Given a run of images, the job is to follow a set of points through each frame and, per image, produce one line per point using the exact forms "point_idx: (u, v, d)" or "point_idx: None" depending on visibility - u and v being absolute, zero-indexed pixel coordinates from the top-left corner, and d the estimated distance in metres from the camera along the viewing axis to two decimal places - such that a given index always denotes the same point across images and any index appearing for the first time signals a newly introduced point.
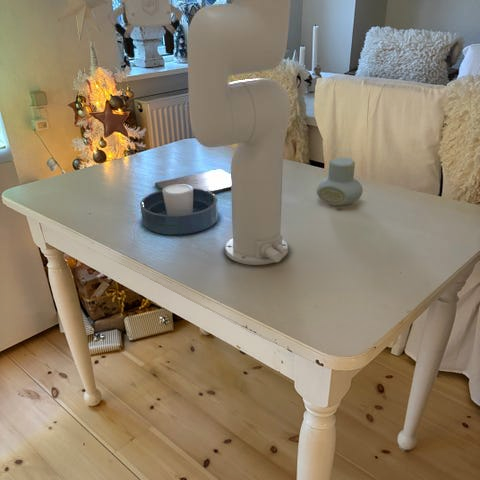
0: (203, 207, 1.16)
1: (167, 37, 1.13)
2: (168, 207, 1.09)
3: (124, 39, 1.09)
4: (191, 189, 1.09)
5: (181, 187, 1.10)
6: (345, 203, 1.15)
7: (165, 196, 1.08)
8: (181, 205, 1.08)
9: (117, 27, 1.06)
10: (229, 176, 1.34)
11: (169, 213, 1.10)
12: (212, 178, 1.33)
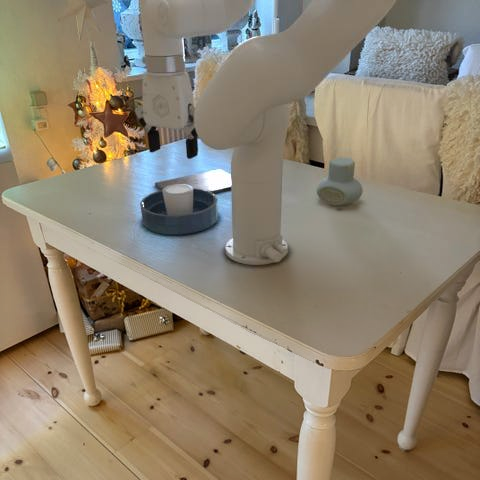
0: (203, 207, 1.16)
1: None
2: (168, 207, 1.09)
3: None
4: (191, 189, 1.09)
5: (181, 187, 1.10)
6: (345, 203, 1.15)
7: (165, 196, 1.08)
8: (181, 205, 1.08)
9: (139, 121, 1.04)
10: (229, 176, 1.34)
11: (169, 213, 1.10)
12: (212, 178, 1.33)
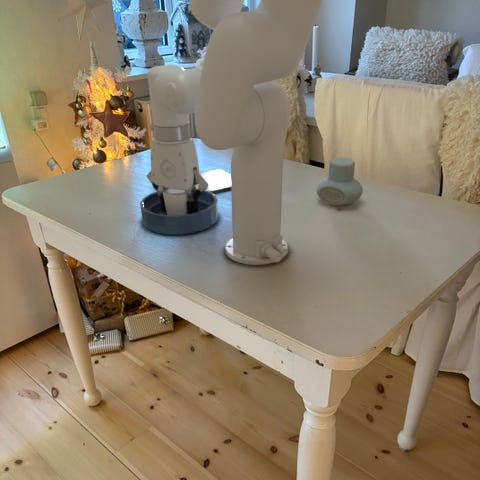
0: (203, 207, 1.16)
1: None
2: (168, 207, 1.09)
3: None
4: None
5: None
6: (345, 203, 1.15)
7: (165, 196, 1.08)
8: (181, 205, 1.08)
9: (153, 185, 1.11)
10: (229, 176, 1.34)
11: (169, 213, 1.10)
12: (212, 178, 1.33)
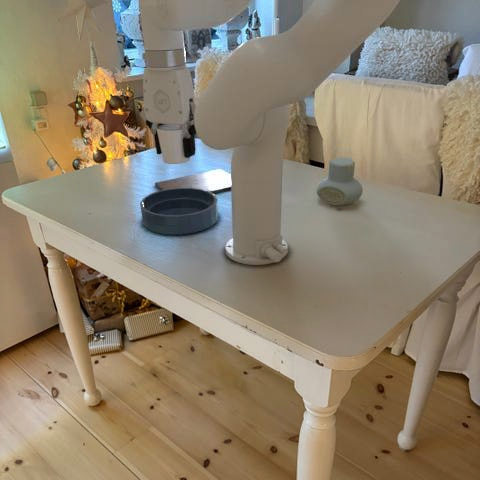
0: (203, 207, 1.16)
1: None
2: (163, 146, 1.01)
3: None
4: None
5: (177, 125, 1.02)
6: (345, 203, 1.15)
7: (159, 133, 1.00)
8: (177, 143, 1.00)
9: (146, 123, 1.03)
10: (229, 176, 1.34)
11: (164, 153, 1.02)
12: (212, 178, 1.33)
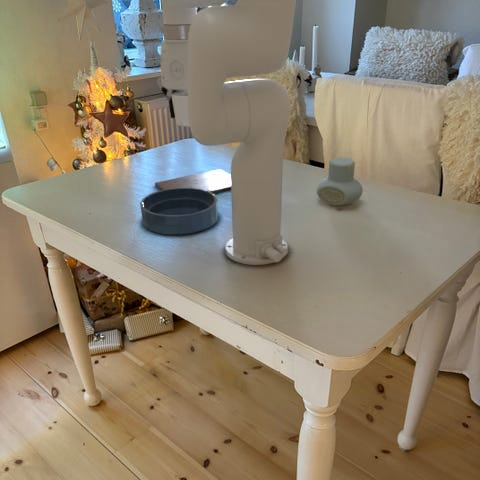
0: (203, 207, 1.16)
1: None
2: (176, 110, 1.16)
3: None
4: None
5: None
6: (345, 203, 1.15)
7: (174, 98, 1.15)
8: None
9: (162, 90, 1.17)
10: (229, 176, 1.34)
11: (177, 116, 1.17)
12: (212, 178, 1.33)
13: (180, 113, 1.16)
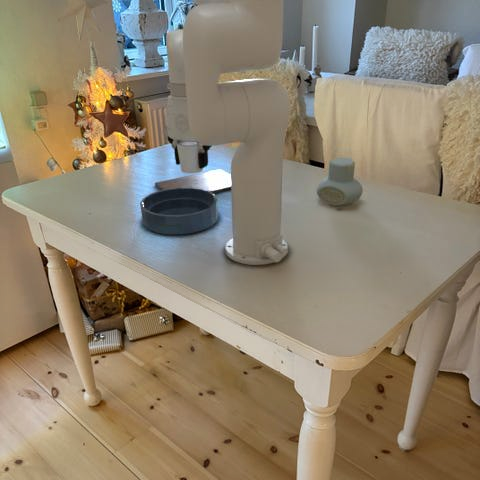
0: (203, 207, 1.16)
1: None
2: (181, 158, 1.24)
3: None
4: None
5: None
6: (345, 203, 1.15)
7: (179, 148, 1.22)
8: (193, 156, 1.22)
9: (168, 139, 1.25)
10: (229, 176, 1.34)
11: (182, 164, 1.24)
12: (212, 178, 1.33)
13: (185, 161, 1.23)
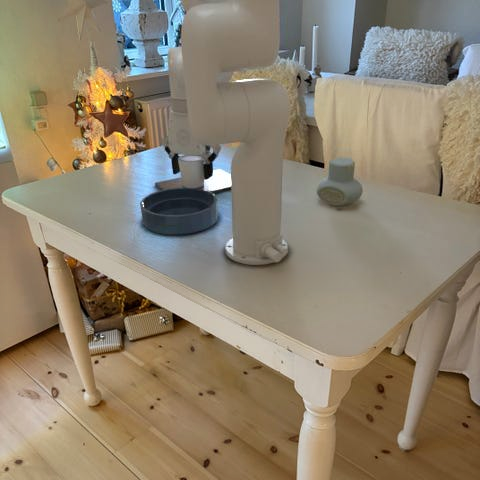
0: (203, 207, 1.16)
1: None
2: (183, 173, 1.26)
3: None
4: None
5: (194, 156, 1.27)
6: (345, 203, 1.15)
7: (180, 163, 1.24)
8: (194, 171, 1.25)
9: (165, 149, 1.27)
10: (229, 176, 1.34)
11: (184, 179, 1.27)
12: (212, 178, 1.33)
13: (186, 176, 1.26)
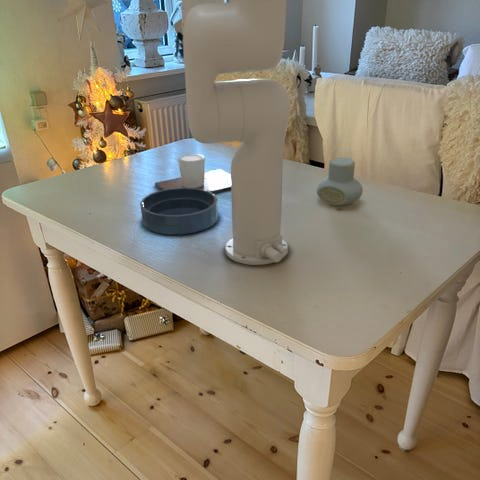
0: (203, 207, 1.16)
1: None
2: (183, 173, 1.26)
3: None
4: (203, 158, 1.25)
5: (194, 156, 1.27)
6: (345, 203, 1.15)
7: (180, 163, 1.24)
8: (194, 171, 1.25)
9: (177, 35, 1.19)
10: (229, 176, 1.34)
11: (184, 179, 1.27)
12: (212, 178, 1.33)
13: (186, 176, 1.26)
